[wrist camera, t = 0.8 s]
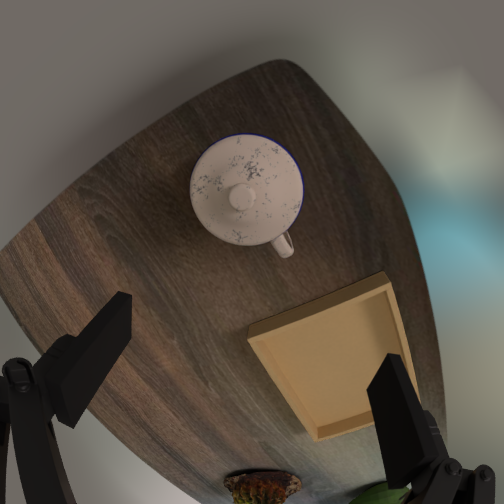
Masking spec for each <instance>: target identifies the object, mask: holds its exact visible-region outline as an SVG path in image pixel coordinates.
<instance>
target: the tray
mask: <svg viewBox="0 0 504 504" xmlns="http://www.w3.org/2000/svg"><path fill="white" fill-rule="evenodd" d="M247 341H248V342H249V344H250V345H251V347H252V349H253V350H254V352H255V353H256V355H257V356H258V358H259V360H260V361H261V363H262V364H263V366H264V367H265V369H266V370H267V372H268V374H269V375H270V377H271V378H272V380H273V381H274V383H275V384H276V386H277V387H278V389H279V390H280V392H281V393H282V395H283V396H284V398H285V399H286V401H287V402H288V404H289V405H290V407H291V408H292V410H293V411H294V413H295V414H296V416H297V417H298V419H299V420H300V421H301V423H302V424H303V426H304V427H305V429H306V430H307V432H308V433H309V435H310V436H311V437H312V439H313V440H314V442H319V441H323V440H326V439H330V438H333V437H336V436H340V435H343V434H346V433H349V432H352V431H356V430H359V429H362V428H364V427H367V426H370V425H373V424H375V423H374V419H373V415H372V411H371V407H370V403H369V399H368V395H367V391H366V389H367V388H368V386H369V384H370V383H371V381H372V379H373V378H374V376H375V374H376V373H377V371H378V369H379V367H380V366H381V364H382V362H383V360H384V358H385V357H386V355H387V353H393V354H400V356H401V358H402V361H403V363H404V365H405V368H406V370H407V372H408V375H409V377H410V379H411V382H412V384H413V387H414V389H415V391H416V394H417V396H418V399H419V401H420V398H419V392H418V387H417V382H416V378H415V373H414V368H413V364H412V359H411V355H410V351H409V347H408V343H407V339H406V335H405V331H404V327H403V323H402V319H401V316H400V312H399V309H398V305H397V302H396V298H395V295H394V292H393V288H392V285H391V282H390V281H389V279H388V278H387V276H386V275H385V273H384V271H381V272H379V273H376V274H374V275H372V276H370V277H367V278H365V279H363V280H361V281H358V282H356V283H354V284H351V285H349V286H347V287H344V288H342V289H340V290H337V291H335V292H332V293H330V294H328V295H325V296H323V297H320V298H318V299H316V300H313V301H311V302H308V303H306V304H303V305H301V306H298V307H296V308H293V309H290V310H288V311H285V312H283V313H280V314H278V315H275V316H272V317H270V318H267V319H264V320H262V321H259V322H256V323H254V324H251V325H249V330H248V336H247ZM420 404H421V403H420Z"/></svg>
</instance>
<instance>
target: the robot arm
mask: <svg viewBox="0 0 504 504" xmlns="http://www.w3.org/2000/svg"><path fill="white" fill-rule="evenodd" d="M131 321H132V295H130V294H127V293H124V292H120V291H118V292H117V293H116V294H115V295H114V296H113V297H112V298H111V300H110V301H109V302H108V303H107V304H106V305H105V306H104V307H103V308H102V309H101V310H100V311H99V313H98V314H97V315H96V316H95V317H94V318H93V319H92V320H91V321H90V323H89V324H88V325H87V326H86V327H85V328H84V329H83V330H82V332H81V333H80V334H79V335H78V336H77V337H74V336H72V335H69V334H66V335H64V336H62V337H60V338H58V339H57V340H56V341H55V342H54V343H53V344H52V346H51V347H50V348H49V349H48V350H47V351H46V353H44V354H43V355H42V357H41V358H40V359H39V360H38V361H37V362H36V363H35V364H34V366H33V367H32V364H31V363H30V362H29V361H28V360H26V359H24V358H13V359H10V360H8V361H7V362H6V363H5V364H4V365H3V368H2V373H3V376H4V377H3V376H0V504H5V492H6V489H5V488H6V466H7V453H8V442H9V434H10V426H11V429H12V435H13V443H14V449H15V455H16V460H17V465H18V470H19V475H20V480H21V483H22V488H23V491H24V496H25V499H26V503H27V504H77V503H76V501H75V498H74V495H73V493H72V490H71V487H70V484H69V481H68V478H67V475H66V472H65V469H64V466H63V462H62V459H61V455H60V452H59V448H58V445H57V441H56V437H55V433H54V428H53V424H52V421H51V419H52V417H53V416H54V414H56V417H57V419H58V421H59V422H61V423H63V424H65V425H67V426H69V427H71V428H73V429H74V427H75V425H76V424H77V422H78V421H79V419H80V417H81V415H82V414H83V412H84V411H85V409H86V408H87V406H88V404H89V403H90V401H91V400H92V398H93V396H94V395H95V393H96V392H97V390H98V388H99V387H100V385H101V384H102V382H103V381H104V379H105V378H106V376H107V374H108V373H109V371H110V370H111V368H112V367H113V365H114V364H115V362H116V361H117V359H118V358H119V356H120V355H121V353H122V352H123V350H124V349H125V347H126V346H127V344H128V343H129V341H130V340H131ZM366 391H367V395H368V399H369V403H370V407H371V411H372V415H373V419H374V423H375V427H376V432H377V436H378V441H379V445H380V450H381V454H382V459H383V464H384V469H385V474H386V479H387V484H388V489H389V490H394V489H403V488H404V487H406V486H407V485H408V484H409V483H410V482H411V486H412V488H411V489H410V490H409V491H408V492H406V493H405V494H404V495H403V496H401V497H400V498H399V500H402V499H403V498H404V497H405V498H404V499H403V501H402V502H401V504H494V503H495V473H494V471H493V470H492V469H491V468H490V467H489V466H487V465H480V466H478V467H477V468H476V469H475V470H474V471H473V470H468V469H462V466H461V464H460V463H459V462H458V461H457V460H455V459H453V458H449V455H448V452H447V450H446V447H445V444H444V442H443V439H442V436H441V435H440V431H439V428H437V427H438V426H437V423H436V421H435V418H434V417H433V416H432V415H431V413H430V412H429V411H428V410H423V409H422V406H421V404H420V401H419V399H418V396H417V394H416V391H415V389H414V387H413V384H412V382H411V379H410V377H409V375H408V372H407V370H406V368H405V365H404V363H403V361H402V358H401V356H400V354H393V353H387V355H386V357H385V358H384V360H383V362H382V364H381V366H380V367H379V369H378V371H377V373H376V374H375V376H374V378H373V379H372V381H371V383H370V384H369V386H368V388H367V389H366Z"/></svg>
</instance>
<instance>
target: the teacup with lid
mask: <svg viewBox="0 0 504 504" xmlns="http://www.w3.org/2000/svg"><path fill="white" fill-rule="evenodd" d="M190 198H191V203H192V206H193V209H194V211H195V213H196V215H197V217H198V219H199V220H200V222H201V223H202V224H203V226H204V227H205V228H206V229H207V230H208V231H209V232H211V233H212V234H213V235H215V236H216V237H218V238H220V239H221V240H224V241H226V242H229V243H232V244H236V245H244V246H251V245H259V244H263V243H266V242H269V241H270V242H271V244H272V245H273V247H274V249H275V250H276V252H277V253H278V254H279V255H280V256H281V257H282V258H287V257H289V256H291V255H292V254H293V252H294V249H293V244H292V241H291V239H290V236H289V234H288V231H287V230H288V229H289V228H290V227H291V225H292V224H293V223H294V221H295V220H296V218H297V217H298V215H299V213H300V210H301V207H302V204H303V199H304V181H303V176H302V173H301V170H300V168H299V166H298V163H297V162H296V160H295V159H294V157H293V156H292V155H291V153H290V152H289V151H288V150H287V149H286V148H285V147H284V146H282V145H281V144H280V143H278V142H276V141H275V140H273V139H271V138H269V137H266V136H263V135H259V134H253V133H238V134H233V135H229V136H226V137H224V138H221V139H220V140H218V141H216V142H214V143H213V144H212V145H210V146H209V147H208V148H207V149H206V150H205V151H204V152H203V153H202V154H201V156H200V157H199V159H198V160H197V162H196V164H195V166H194V168H193V171H192V174H191V179H190Z"/></svg>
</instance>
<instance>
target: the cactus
mask: <svg viewBox="0 0 504 504" xmlns="http://www.w3.org/2000/svg"><path fill="white" fill-rule="evenodd" d="M224 486H225V487H226V488H228V489H229V491H230V492H233V493H232V496H233V499H234V502H233V503H235V504H282V503H283V502H285V499H287V498H288V497H289V496H290V495H291V494H293V493H296V492H297V491H300V489H301V487H302V484H301V481H300V480H299V479H298V478H296V477H295V476H293V475H289V474H287V472H283V471H278V472H258V473H251V474H249V475H247V474H243V475H239V476H234V477H229V478H225V481H224Z"/></svg>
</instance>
